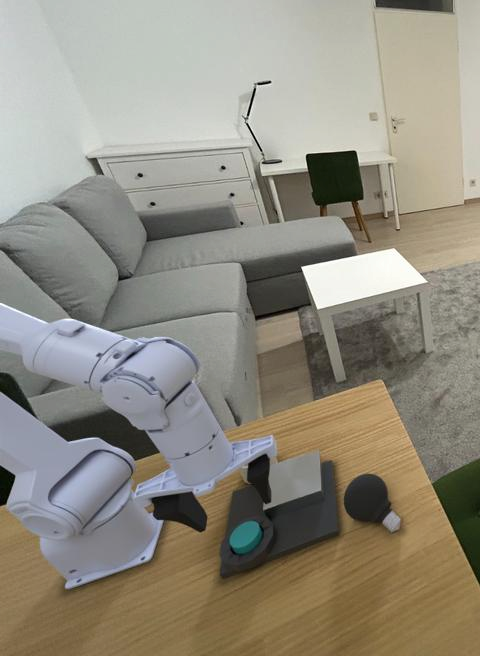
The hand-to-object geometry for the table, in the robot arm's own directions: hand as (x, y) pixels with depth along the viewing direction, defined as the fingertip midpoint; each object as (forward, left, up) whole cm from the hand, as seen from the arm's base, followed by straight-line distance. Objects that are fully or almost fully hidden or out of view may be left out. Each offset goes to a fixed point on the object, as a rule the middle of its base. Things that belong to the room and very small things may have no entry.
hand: (237, 510), depth 51 cm
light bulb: (+17, -1, -9) cm, 19 cm away
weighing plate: (+6, +7, -9) cm, 12 cm away
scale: (+4, +4, -9) cm, 10 cm away
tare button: (0, 0, -6) cm, 6 cm away
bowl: (0, +14, -9) cm, 16 cm away
